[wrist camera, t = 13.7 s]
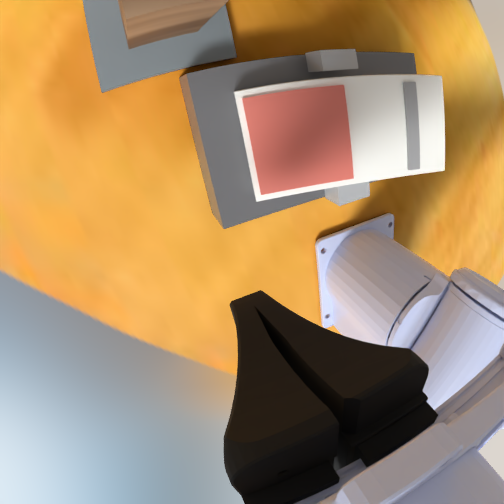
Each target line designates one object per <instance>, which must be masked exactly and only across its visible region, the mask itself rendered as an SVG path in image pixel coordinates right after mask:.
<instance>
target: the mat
mask: <svg viewBox="0 0 504 504" xmlns="http://www.w3.org/2000/svg"><path fill="white" fill-rule="evenodd" d="M83 4H84V10H85V16H86V22H87V27H88V32H89V37H90V42H91V47H92V52H93V57H94V61H95V66H96V70H97V74H98V78H99V83H100V87H101V91H102V93H104V92H106V91H109V90H112V89H115V88H118V87H121V86H124V85H127V84H130V83H133V82H137V81H140V80H143V79H147V78H150V77H154V76H157V75H161V74H165V73H168V72H172V71H176V70H180V69H184V68H189V67H193V66H197V65H202V64H207V63H212V62H217V61H222V60H228V59H233V58H236V57H237V55H236V50H235V46H234V41H233V36H232V32H231V27H230V22H229V18H228V13H227V9H226V4H225V5H223V6H222V7H221V8H220V9H219V10H218V11H217V12H216V13H215V14H214V15H213V16H212V17H211V18H210V19H209V20H208V21H207V22H206V23H205V24H204V25H203V26H202V27H201V29H200V30H199V31H198V32H194V33H189V34H184V35H180V36H176V37H172V38H168V39H164V40H160V41H156V42H153V43H149V44H145V45H142V46H139V47H135V48H132V49H129V48H128V44H127V40H126V36H125V31H124V27H123V22H122V18H121V13H120V9H119V4H118V0H83Z"/></svg>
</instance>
